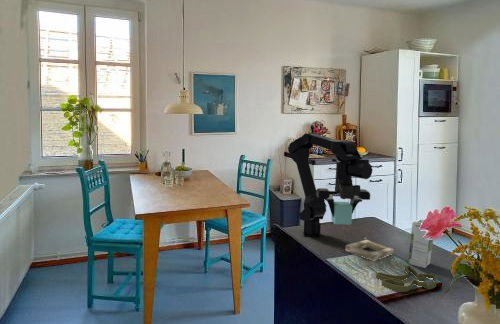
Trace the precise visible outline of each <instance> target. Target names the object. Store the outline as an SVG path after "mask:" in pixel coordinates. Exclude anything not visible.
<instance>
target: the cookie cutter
mask: <svg viewBox="0 0 500 324" xmlns="http://www.w3.org/2000/svg"><path fill="white" fill-rule="evenodd" d="M405 271H406V272H407V273H406V272H405ZM409 271H410V272H409ZM404 272H405V274H401V275H398V274H397V275H394V274H388V273H383V272H376V274H375V279H377V280H379V279H380V280H379V281H381V287H383V286H384V287H383V288H385V287H386V289H388V288H389V289H388V290H391V289H392V290H391V291H394V290H395V291H394V292H399V291H401V293H405V292H410V291H411V290H410V289H412V288H413V286H414V285H413V284H416V285H418V286H422V287H424V288H423V289H426V290H432V289H435V288H436V287H437V283H438V279H437V277H438V276H437V275H436V274H431V273H419V272H417V270H415V269H414V268H412V267H411V265H405V266H404ZM411 272H412V273H413V274H414V275H415V276H416V277H417V278H416V277H415V276H414V275H413V274H412V273H411ZM410 273H411V274H412V275H413V276H414V277H415V278H416V279H411V282H410V284H408V285H405V284H406V281H405V280H404V279H406V278H408V279H409V276H410ZM426 277H428V278H433V280H434V281H435V282H433V280H432V282H430V283H429V282H425V280H426V279H425V278H426ZM417 279H418V280H419V281H424V282H419V281H417ZM402 280H403V281H402ZM406 280H407V279H406ZM412 285H413V286H412ZM416 285H415V286H416ZM411 287H412V288H411Z"/></svg>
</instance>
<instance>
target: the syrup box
mask: <svg viewBox="0 0 500 324" xmlns="http://www.w3.org/2000/svg"><path fill="white" fill-rule="evenodd" d="M424 220H425V219H419V218H418V219H416V220H415V221H413V222H412V223H411V224H412V226H411V231H410V232H411V233H410V240H409V241H410V242H409V250H408V258H407V259H408V260H407V264H409V265H410V266H411V265H412V266H416V267H419V268H424V269H427V267H429V265H430V264H431V261H432V251H433V245H434V244H433V243H434V239H433V240H425V239H423V238H422V237H423V236H424V235H425V233H426V231H420V230H419V227H420V225H421V223H422V222H423V221H424Z"/></svg>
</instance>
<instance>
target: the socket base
mask: <svg viewBox="0 0 500 324" xmlns="http://www.w3.org/2000/svg"><path fill="white" fill-rule="evenodd" d="M365 248H368V249H371V250H374V252H370V251H369V250H365ZM344 250H345V252H348V253H350V254H353V255H354V256H355V255H356V256H358V255H360V256H363V257H365V258H368V259H370V260H372V261H373V262H375V261H374V260H376V261H378V260H377V259H379V258H382V257H384V256H387V255H391V254H392V256H394V254H395V249H394V248H392V247H388V246H385V245H383V244H380V243H377V242H375V241H372V240H370V239H369V237H367V236H364V240H360V241H357V242H356V241H355V242H352V243H350V244H349V243H348V244H345V249H344ZM360 256H359V257H360ZM363 257H362V258H363ZM365 258H364V259H365ZM368 259H367V260H368ZM382 259H383V258H382ZM370 260H369V261H370ZM379 260H380V259H379ZM372 261H371V262H372Z"/></svg>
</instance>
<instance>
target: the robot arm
mask: <svg viewBox="0 0 500 324" xmlns="http://www.w3.org/2000/svg"><path fill="white" fill-rule="evenodd" d="M314 146H318V147H320V148H324V149H326V150H329V151H330V152H331V154H332V155H335V156H334V158H332V159H331V162H335V163H336V165H335V177H334V178H335V181H334V182H335V183H334V185H335V186H334V190H329V189H328V188H324V187H323V188H319V187H318V188H317V187H316V185H315V181H314V177H313V173H312V170H311V169H312V168H311V167H310V163H309V158H310V155H311V153H310V150H311V149H312V148H313V147H314ZM287 151H288V155H290V158H291V160H292V161H293V162H295V164H296V167H297V170H298V175H299V178H300V181H301V187H302V190H303V193H304V194H303V195H304V197H305V198H304V200H303V210H302V211H301V212H299V213H298V217H299V220H301V221H302V230H301V233H302V235H303V237H321V229H322V228H321V227H322V225H321V222H320V221H321V220H324V216H325V215H326V212H327V206H328V207H329V211H330V214H331V218H332V217H334V202H335V199H334V198H333V197H339V198H340V199H341V200H347V199H348V200H350V201H349V203H350V204H351V205H352V215H353V213H354V211H355V209H356V207H357V205H358V204H359V203H361V202H363V201H364V200H366V201H368V200H371V193H370V191H368V190H367V189H363V188H362V189H361V185H360V184H353V178H357V179H362V180H369V179H370V177H371V176H372V174H373V167H372V165H371V163H370V159H368V158H362V157H361V154H360V152H359V149H358V148H357V146H356V142H355V141H352V140H345V139H341V140H340V139H334V138H330V137H328V136H324V135H321V134H317V133H316V132H305V133H304V134H302V135H301V136H300V137H298V138H297V139H294V140H293V141H291V142H290V143H289V145H288V147H287ZM326 202H327V204H328V205H327V204H326Z"/></svg>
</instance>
